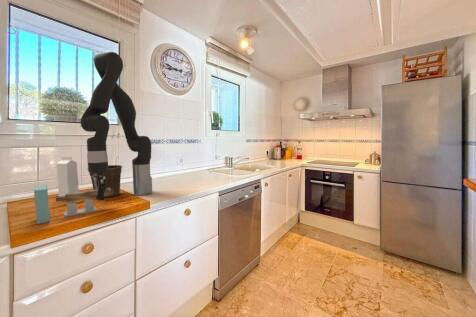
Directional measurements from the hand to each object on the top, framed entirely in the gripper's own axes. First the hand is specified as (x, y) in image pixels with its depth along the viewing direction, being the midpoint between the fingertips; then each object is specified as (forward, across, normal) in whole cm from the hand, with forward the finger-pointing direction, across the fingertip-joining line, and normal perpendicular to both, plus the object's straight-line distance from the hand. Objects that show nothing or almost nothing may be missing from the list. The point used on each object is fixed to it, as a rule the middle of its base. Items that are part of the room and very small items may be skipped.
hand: (100, 198), depth 93 cm
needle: (-1, 0, +6) cm, 6 cm away
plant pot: (+5, +24, -7) cm, 25 cm away
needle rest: (+4, 0, +7) cm, 9 cm away
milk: (+5, +32, +9) cm, 34 cm away
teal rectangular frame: (+4, 0, +19) cm, 19 cm away
